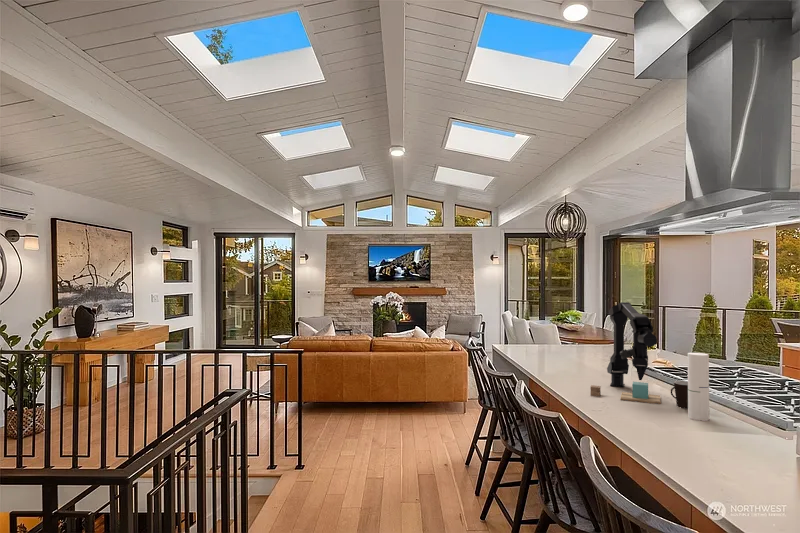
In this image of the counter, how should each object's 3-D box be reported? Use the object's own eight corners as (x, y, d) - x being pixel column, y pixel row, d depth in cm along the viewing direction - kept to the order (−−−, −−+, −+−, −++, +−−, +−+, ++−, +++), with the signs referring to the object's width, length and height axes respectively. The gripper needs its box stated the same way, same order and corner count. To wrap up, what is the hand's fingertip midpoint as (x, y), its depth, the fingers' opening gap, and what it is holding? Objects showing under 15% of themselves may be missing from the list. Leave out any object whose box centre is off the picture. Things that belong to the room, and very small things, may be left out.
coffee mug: (691, 404, 222) (691, 381, 222) (701, 409, 213) (700, 385, 213) (663, 403, 223) (663, 380, 223) (671, 408, 214) (671, 384, 214)
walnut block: (591, 393, 242) (591, 385, 242) (600, 394, 240) (600, 385, 241) (590, 395, 239) (590, 386, 239) (599, 396, 237) (599, 387, 237)
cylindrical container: (712, 421, 196) (711, 355, 197) (691, 420, 198) (691, 355, 198) (705, 416, 203) (704, 352, 204) (685, 415, 205) (684, 352, 205)
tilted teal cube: (632, 394, 236) (632, 381, 237) (648, 396, 234) (648, 382, 234) (632, 397, 231) (632, 384, 231) (648, 399, 228) (648, 385, 228)
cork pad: (622, 393, 242) (622, 391, 242) (660, 397, 235) (660, 395, 235) (620, 400, 229) (620, 398, 229) (660, 404, 222) (660, 402, 222)
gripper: (621, 340, 244) (622, 373, 244) (619, 345, 228) (620, 380, 227) (647, 341, 239) (648, 375, 239) (647, 346, 223) (647, 382, 222)
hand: (640, 378), depth 232 cm, fingers open, 9 cm apart
